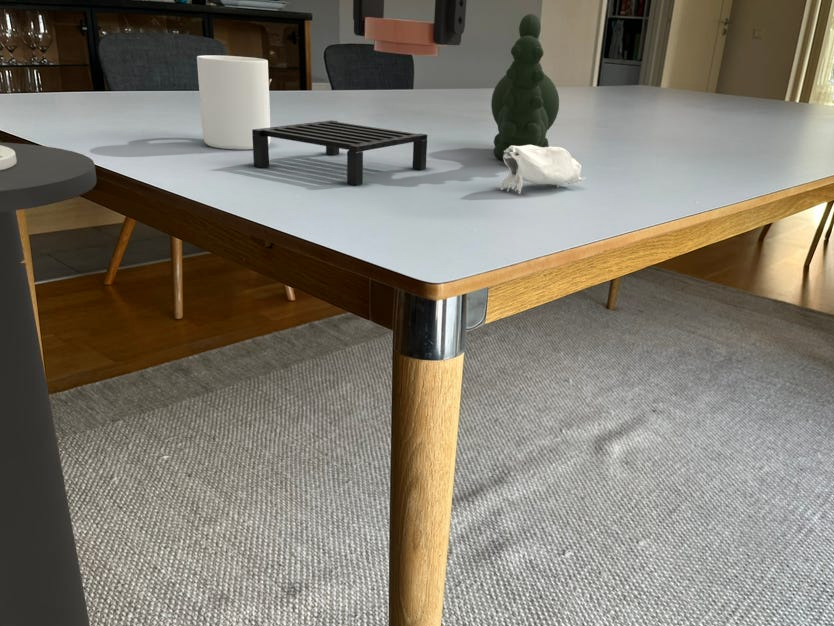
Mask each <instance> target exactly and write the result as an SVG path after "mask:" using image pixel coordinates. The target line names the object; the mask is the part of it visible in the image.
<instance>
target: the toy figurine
mask: <svg viewBox="0 0 834 626" xmlns="http://www.w3.org/2000/svg"><path fill="white" fill-rule="evenodd" d="M541 29H542V25H541V21H540V19H539V17H538V16H537V15H535V14H533V13H528V14H526V15H524V16H523V17H522V18H521V20H520V23H519V26H518V33H519V38H518V39H517V40H516V41H515V42H514V45H513V46H512V47H511V49H510V54H511V55H512V59H513V61H512V62H511V64H510V66H509V68H508V69H507V70H506V72H505V75H504V76H502V78H501V79H499V81H498V82H497V84H496V85H495V87H494V88H493V92H492V96H491V103H490V107H491V113H492V117H493V119H494V122H495V124H496V125H497V131H498V133H497V134H496V135H495V136H494V139H493V145H494V149H493V151H492V152H493V155H494V158H496V159H497V160H500V161H501V160H503V161H504V159H503V154H505V152H504V150H506V149H508V148H509V147H510V146H511V145H512V146H524V145H534V146H538V147H550V145H549V140H548V138H547V132H548V131H549V130H550V128H551V127H552V126H553V124H554V123H555V121H556V119H557V116H558V114H559V109H560V97H559V92H558V90H557V87H556V85H555V83H554V82H553V81H552V79H551V78H550V77H549V76H547V74H545V72H544V71H543V67H542V65H541V62H540V61H541V60H542V58H543V56H544V49H543V47H542V44H541V42H540V41H539V37H540V34H541Z"/></svg>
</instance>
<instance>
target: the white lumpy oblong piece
mask: <svg viewBox="0 0 834 626" xmlns="http://www.w3.org/2000/svg"><path fill="white" fill-rule="evenodd" d="M504 152H505V154H503V159H504V160H503V161H504V164H505V165H506V166H507V167H508V170H509V174H508V175H507V176H506V177H505V178H504V179H503V180H501V185H502V186H500V188H499V189H500V191H503V190H504V189H505V188H506V187H507V188H506V192H509V190H510V189H512V190H514V191H515V192H517V193H518V194H519V195H521V193H522V188H523V184H524V182H527V183H530V184H531V183H532V184H536V185H538V184H539V185H550V186H556V188H559V187H560V186H561V185H562V184H568V185H574V184H578V183H581V182H583V181H586V180H587V178H586V177H580V176H581V172H582V165H581V164H580V163H579V162H578V161H577V160H576V159H575V158H573V157H572V155H571V153H570V152H569V151H568V150H567V149H565V148H564V147H561V146H550V145H549V147H538V146H534V145H524V146H512V145H511V146H510V147H509V148H508V149H506V150H504Z"/></svg>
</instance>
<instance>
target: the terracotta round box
mask: <svg viewBox="0 0 834 626" xmlns="http://www.w3.org/2000/svg"><path fill="white" fill-rule="evenodd" d="M433 34H434V21H433V22H432V21H424V20H412V19H401V18H400V19H399V18H388V17H384V18H379V17H364V36H363V38H364V39H365V40H370V41H373V51H376V52H381V53H389V54H399V55H412V56H423V57H424V56H425V57H427V56H429V57H438V56H439V55H440V47H448V46H450V45H439V44H436V43H435V42H434V40H433Z"/></svg>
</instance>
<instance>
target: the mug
mask: <svg viewBox="0 0 834 626" xmlns="http://www.w3.org/2000/svg"><path fill="white" fill-rule="evenodd" d="M196 64H197V65H196V66H197V77H198V79H197V80H198V89H199V90H198V91H199V92H198V93H199V105H200V119H201V132H202V138H203V141H204V143H205V144H206V145H208V146H209V147H211V148H216V149H224V150H242V151H243V150H246V151H247V150H253V138H252V130H253V129H261V128H270V127H271V111H270V110H271V107H270V105H271V104H270V83H269V82H270V81H269V79H270V78H269V61H268V59H266V58H259V57H251V56H250V57H249V56H236V55H216V54H215V55H213V54H212V55H211V54H210V55H209V54H207V55H204V54H203V55H197V56H196ZM271 139H272V137H268V146H269V145H270V144H271V141H272V140H271Z"/></svg>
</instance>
